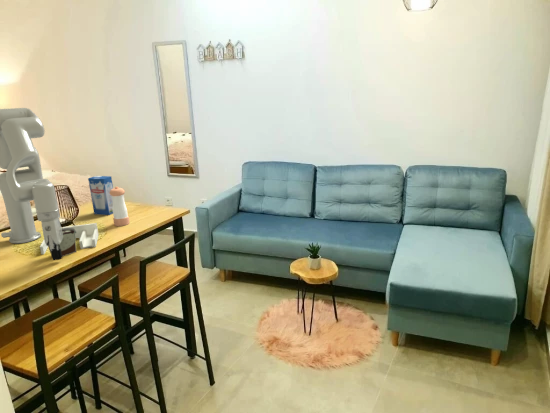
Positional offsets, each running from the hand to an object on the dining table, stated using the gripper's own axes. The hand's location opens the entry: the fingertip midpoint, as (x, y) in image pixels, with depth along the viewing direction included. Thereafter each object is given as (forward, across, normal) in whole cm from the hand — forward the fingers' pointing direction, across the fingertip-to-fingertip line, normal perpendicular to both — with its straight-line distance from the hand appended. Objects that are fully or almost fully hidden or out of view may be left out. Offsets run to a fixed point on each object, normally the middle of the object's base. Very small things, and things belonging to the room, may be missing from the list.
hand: (57, 258), depth 161 cm
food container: (+2, +9, 0) cm, 9 cm away
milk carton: (+2, +64, -14) cm, 65 cm away
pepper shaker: (+2, +40, -23) cm, 46 cm away
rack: (+1, +19, -3) cm, 19 cm away
